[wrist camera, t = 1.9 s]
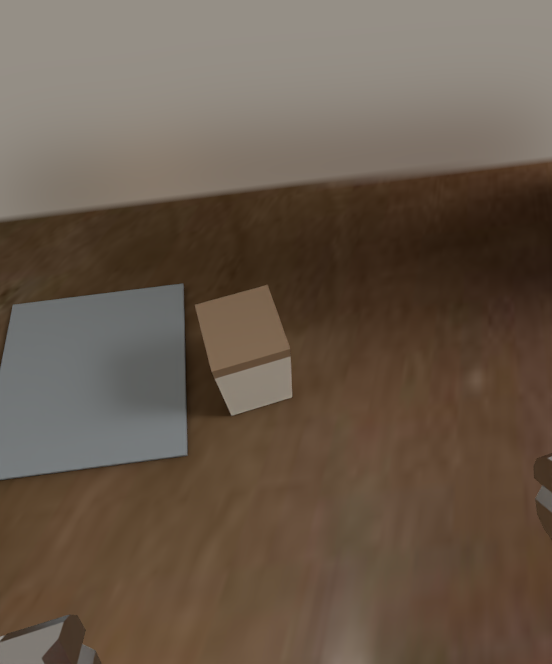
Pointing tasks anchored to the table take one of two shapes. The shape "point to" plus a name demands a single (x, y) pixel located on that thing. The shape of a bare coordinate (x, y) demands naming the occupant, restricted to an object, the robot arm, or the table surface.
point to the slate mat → (93, 382)
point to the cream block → (246, 349)
